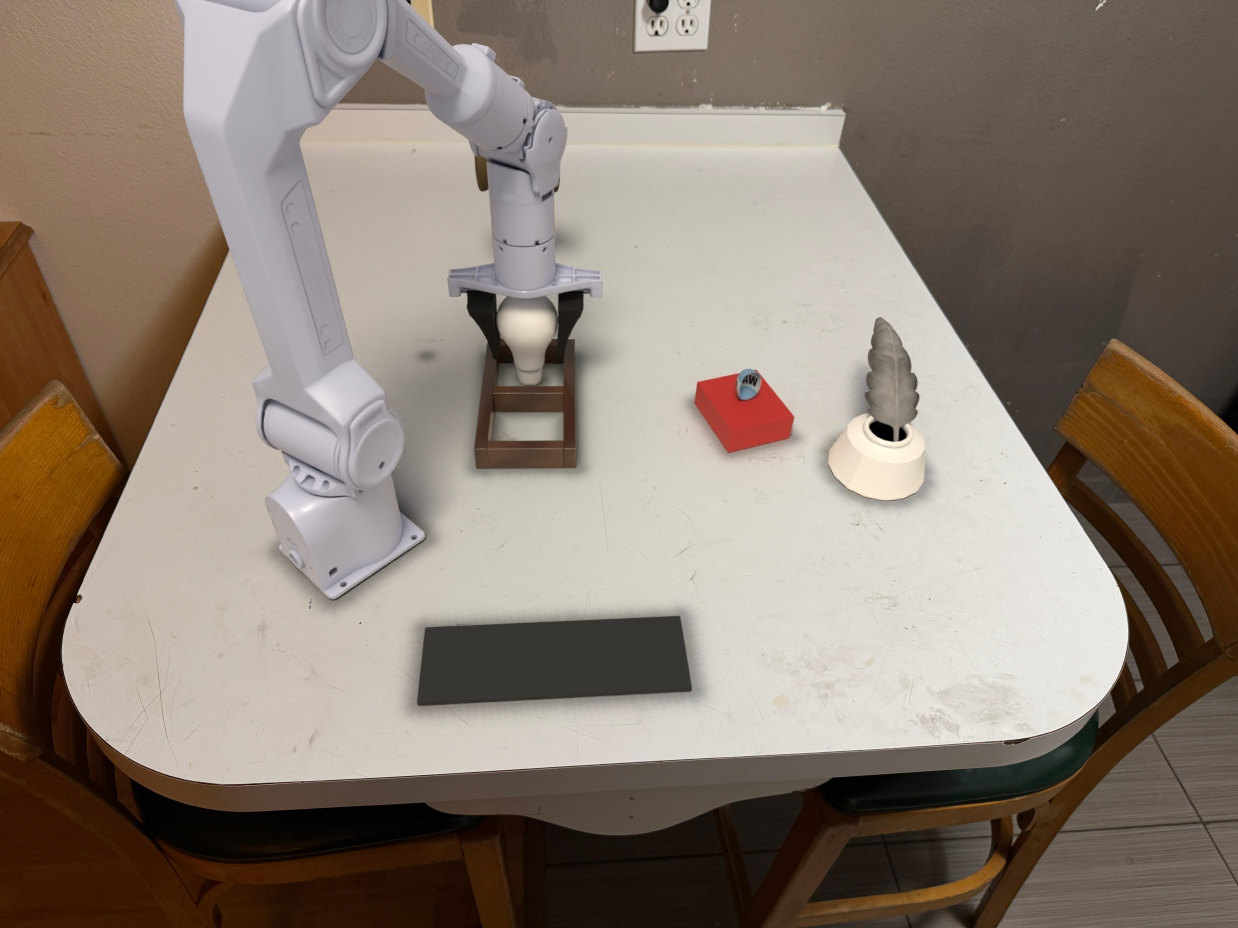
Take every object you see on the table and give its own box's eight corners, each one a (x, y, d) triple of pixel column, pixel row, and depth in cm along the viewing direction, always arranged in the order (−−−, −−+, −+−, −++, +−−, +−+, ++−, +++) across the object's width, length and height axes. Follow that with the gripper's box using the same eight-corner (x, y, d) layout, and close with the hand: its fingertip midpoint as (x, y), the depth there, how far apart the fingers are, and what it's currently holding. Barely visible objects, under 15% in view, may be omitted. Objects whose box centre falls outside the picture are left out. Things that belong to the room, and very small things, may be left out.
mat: (417, 705, 59) (416, 702, 58) (425, 630, 63) (424, 626, 63) (691, 691, 60) (691, 687, 60) (679, 619, 65) (680, 615, 65)
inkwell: (834, 499, 75) (860, 417, 69) (809, 380, 88) (828, 301, 82) (934, 504, 75) (970, 422, 69) (894, 384, 88) (920, 306, 82)
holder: (476, 468, 77) (473, 449, 75) (489, 357, 89) (487, 338, 88) (576, 468, 77) (576, 448, 76) (574, 357, 90) (574, 338, 88)
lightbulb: (493, 374, 87) (485, 284, 80) (546, 361, 89) (544, 272, 82) (512, 407, 83) (506, 316, 76) (568, 393, 85) (567, 303, 78)
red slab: (694, 403, 85) (700, 353, 81) (752, 390, 87) (761, 341, 82) (728, 452, 80) (737, 402, 75) (789, 438, 81) (801, 388, 77)
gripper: (601, 212, 77) (598, 331, 87) (447, 210, 77) (461, 330, 86) (604, 249, 72) (600, 371, 82) (439, 247, 72) (455, 371, 81)
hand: (529, 353), depth 84 cm, fingers closed on lightbulb, 6 cm apart
